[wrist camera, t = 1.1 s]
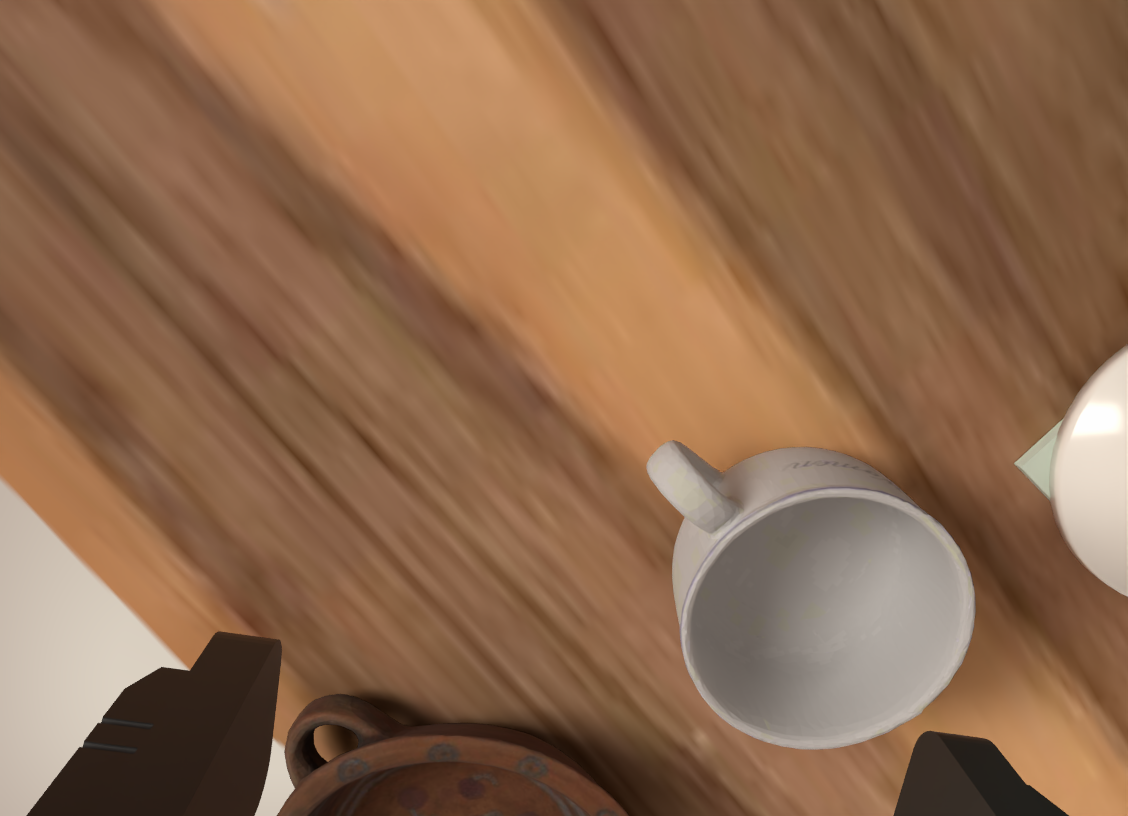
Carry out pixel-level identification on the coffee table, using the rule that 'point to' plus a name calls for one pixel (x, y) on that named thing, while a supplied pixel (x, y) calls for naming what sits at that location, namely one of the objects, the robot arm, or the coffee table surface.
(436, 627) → the coffee table surface
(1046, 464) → the mat
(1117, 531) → the lid
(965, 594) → the teacup
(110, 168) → the coffee table surface
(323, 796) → the dish
